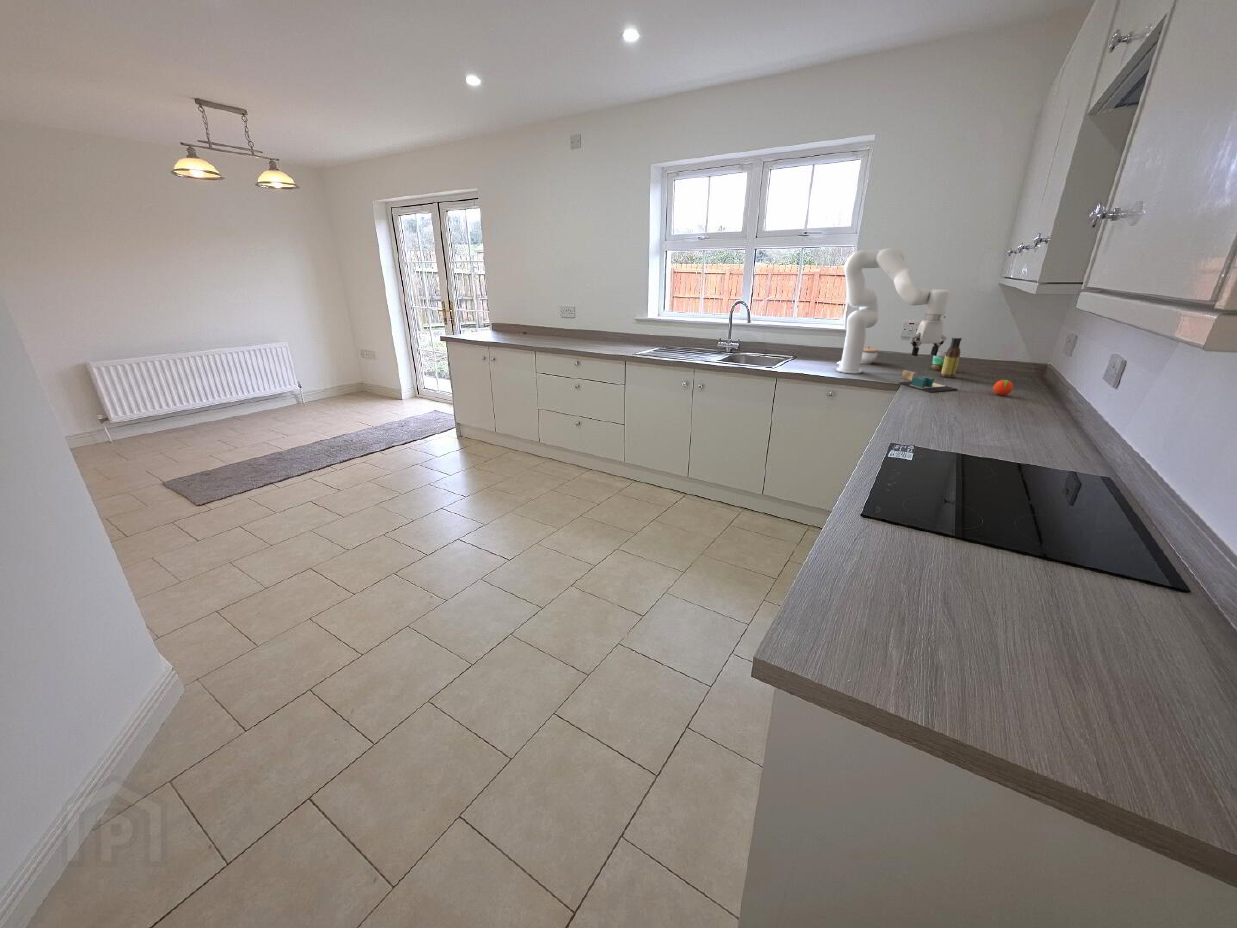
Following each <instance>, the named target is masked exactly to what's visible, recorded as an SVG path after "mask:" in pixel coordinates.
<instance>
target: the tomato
mask: <svg viewBox="0 0 1237 928" xmlns="http://www.w3.org/2000/svg"><path fill="white" fill-rule="evenodd" d="M992 389H993V392H994V394H996V395H998V396H1007V395H1009V394H1011V392H1012V391H1013V389H1014V385H1013V382H1011V381H1010V380H1008V379H1000V380H998V381H995V383H994V385H993V388H992Z"/></svg>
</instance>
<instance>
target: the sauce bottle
mask: <svg viewBox="0 0 1237 928" xmlns="http://www.w3.org/2000/svg"><path fill="white" fill-rule="evenodd" d="M962 339H963V338H962V337H960V336H952V337H951V342H950V346H949V347H948V349H947V350H946V351H945V352H946V355H945V359H944V363H943V367H942V371H940V373H941V374H940V376H941V377H943V378H950V379H951V378H955V377H956V373H957V369H958V366H959V362H960V356H961V348H960V345H961V341H962Z"/></svg>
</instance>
